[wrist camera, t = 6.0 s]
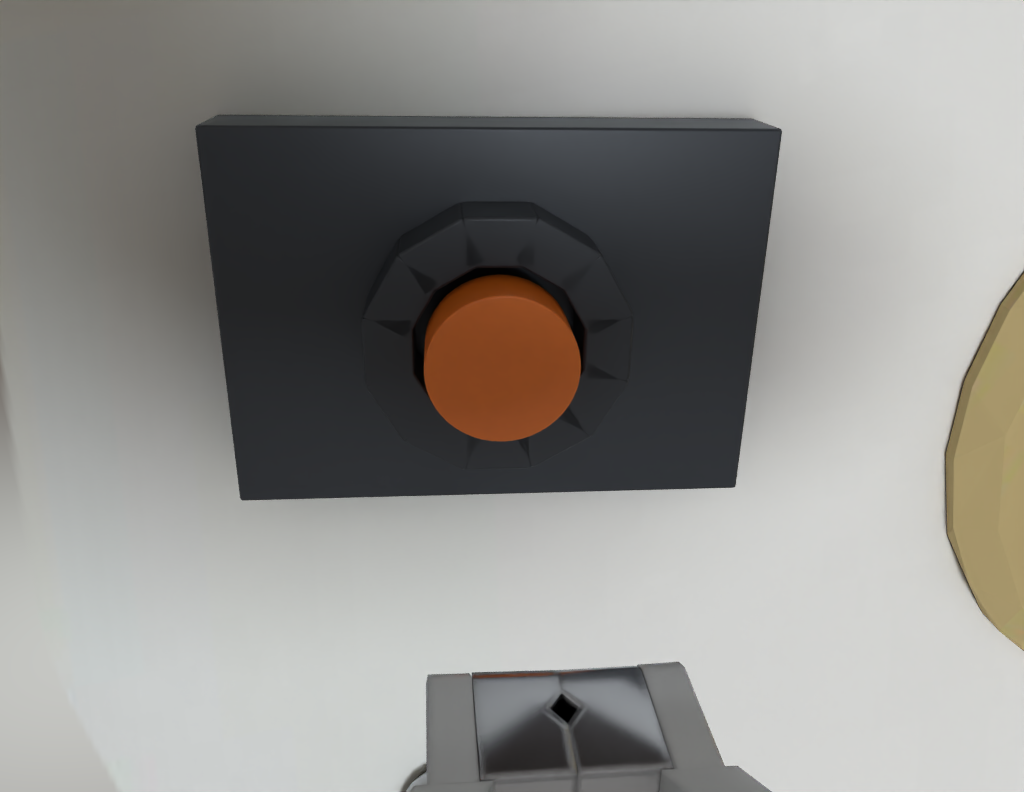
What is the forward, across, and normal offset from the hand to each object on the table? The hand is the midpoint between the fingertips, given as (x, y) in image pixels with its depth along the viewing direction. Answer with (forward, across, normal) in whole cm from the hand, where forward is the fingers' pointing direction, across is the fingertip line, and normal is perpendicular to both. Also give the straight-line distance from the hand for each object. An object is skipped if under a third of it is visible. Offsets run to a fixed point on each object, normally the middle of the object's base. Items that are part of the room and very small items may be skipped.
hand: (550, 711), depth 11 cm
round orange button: (+12, 0, 0) cm, 13 cm away
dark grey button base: (+16, 0, 0) cm, 16 cm away
